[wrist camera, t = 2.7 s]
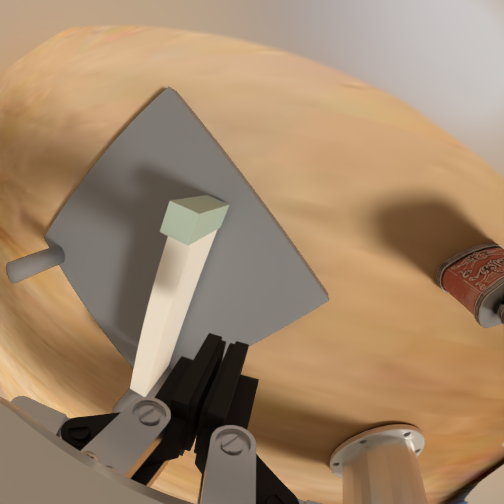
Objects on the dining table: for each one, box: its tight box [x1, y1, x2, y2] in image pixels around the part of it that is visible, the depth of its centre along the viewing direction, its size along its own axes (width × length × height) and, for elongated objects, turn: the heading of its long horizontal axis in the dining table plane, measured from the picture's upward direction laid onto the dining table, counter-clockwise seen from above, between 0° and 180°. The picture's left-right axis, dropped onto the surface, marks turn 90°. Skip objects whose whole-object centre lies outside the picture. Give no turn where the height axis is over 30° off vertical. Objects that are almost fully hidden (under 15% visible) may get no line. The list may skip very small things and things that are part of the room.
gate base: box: [6, 87, 329, 413], centre depth 20 cm, size 21×21×9 cm
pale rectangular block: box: [130, 195, 229, 397], centre depth 19 cm, size 16×2×6 cm, turn 157°
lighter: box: [436, 243, 504, 328], centre depth 14 cm, size 8×3×10 cm, turn 109°
